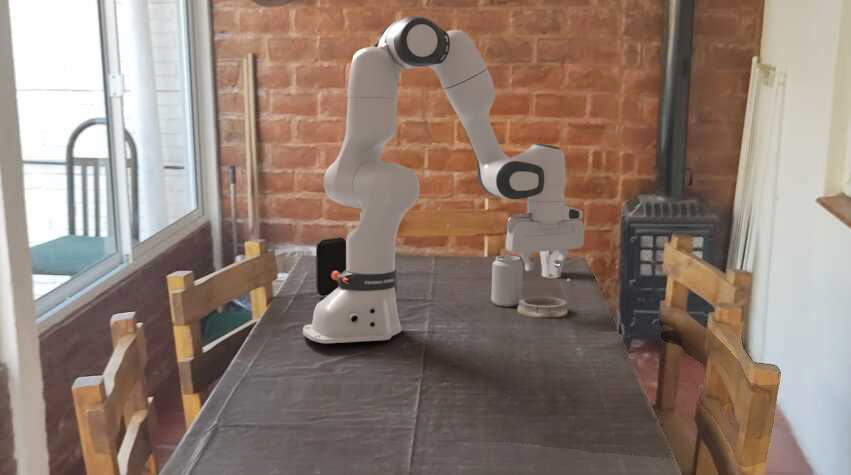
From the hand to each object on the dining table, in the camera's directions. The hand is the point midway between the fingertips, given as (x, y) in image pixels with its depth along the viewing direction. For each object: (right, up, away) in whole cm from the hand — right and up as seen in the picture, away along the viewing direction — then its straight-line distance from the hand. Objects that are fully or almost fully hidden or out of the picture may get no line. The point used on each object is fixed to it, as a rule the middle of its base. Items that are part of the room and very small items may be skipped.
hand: (544, 269), depth 217 cm
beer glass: (+6, -6, +34) cm, 35 cm away
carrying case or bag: (-53, -7, +19) cm, 56 cm away
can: (-8, -9, +9) cm, 16 cm away
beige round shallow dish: (0, -10, +2) cm, 11 cm away
